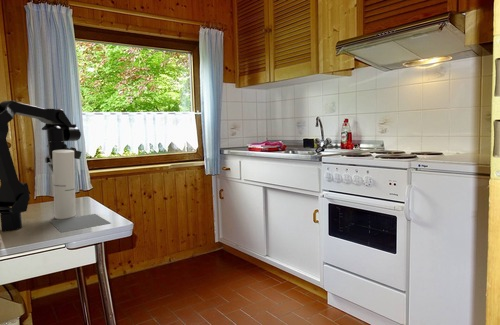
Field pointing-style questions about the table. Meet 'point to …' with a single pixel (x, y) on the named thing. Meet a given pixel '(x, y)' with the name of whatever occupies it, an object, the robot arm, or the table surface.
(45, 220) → the table surface
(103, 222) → the mat
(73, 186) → the cylindrical container
